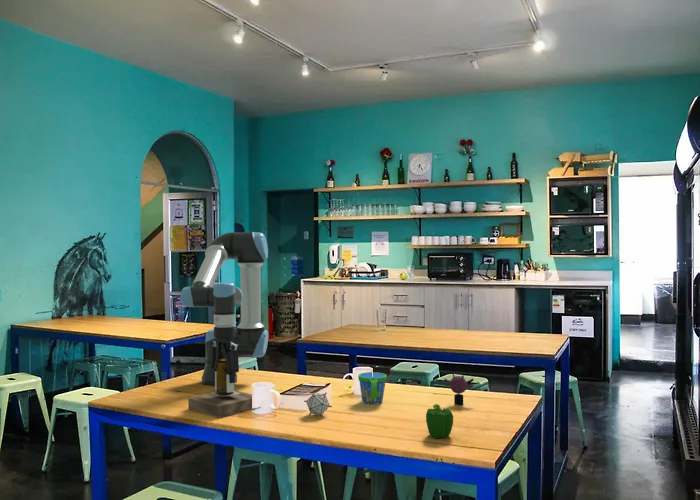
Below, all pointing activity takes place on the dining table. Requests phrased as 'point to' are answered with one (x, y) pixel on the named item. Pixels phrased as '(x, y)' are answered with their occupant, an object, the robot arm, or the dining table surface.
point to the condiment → (222, 379)
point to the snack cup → (372, 387)
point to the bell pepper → (439, 421)
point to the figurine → (458, 387)
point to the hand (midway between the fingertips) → (224, 390)
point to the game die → (318, 403)
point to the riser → (221, 404)
